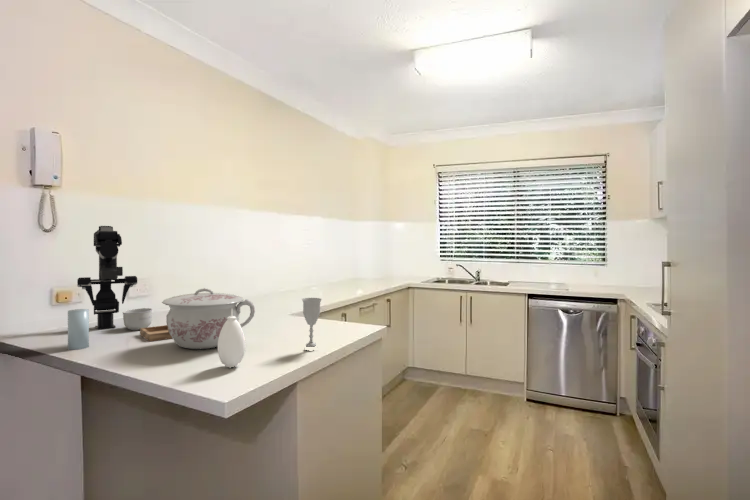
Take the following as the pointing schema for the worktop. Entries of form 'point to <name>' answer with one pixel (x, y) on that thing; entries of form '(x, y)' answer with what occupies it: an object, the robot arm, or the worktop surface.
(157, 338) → the tray
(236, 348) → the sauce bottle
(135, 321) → the teacup
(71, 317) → the pale blue rounded cylinder
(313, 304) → the chalice
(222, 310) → the chamber pot
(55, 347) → the worktop surface
